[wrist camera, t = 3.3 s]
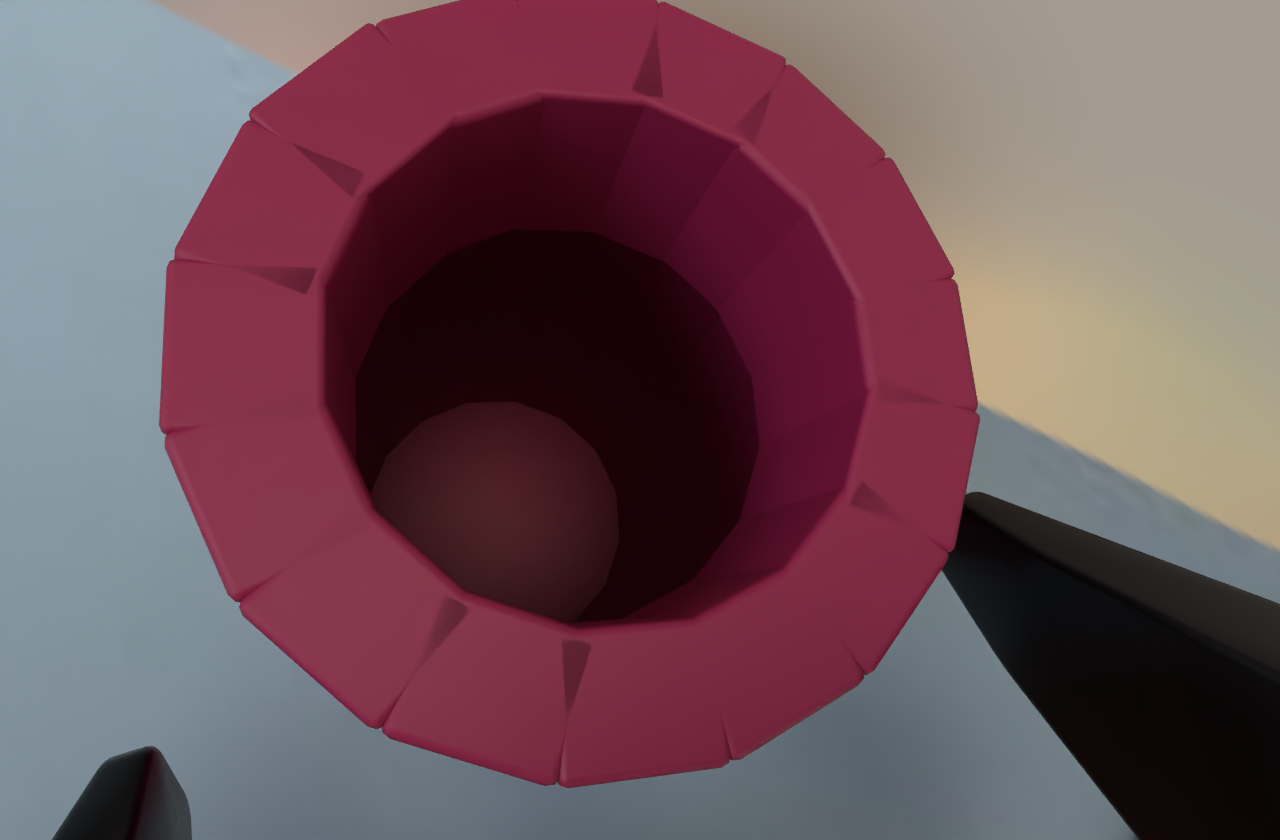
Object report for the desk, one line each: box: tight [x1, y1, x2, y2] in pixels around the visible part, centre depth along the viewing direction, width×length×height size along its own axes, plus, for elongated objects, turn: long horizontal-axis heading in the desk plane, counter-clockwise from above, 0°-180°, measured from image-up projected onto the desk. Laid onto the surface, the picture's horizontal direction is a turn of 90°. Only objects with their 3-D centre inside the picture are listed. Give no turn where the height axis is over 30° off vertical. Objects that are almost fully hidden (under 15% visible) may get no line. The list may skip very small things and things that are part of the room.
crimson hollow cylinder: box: [159, 0, 980, 788], centre depth 13 cm, size 6×6×13 cm
